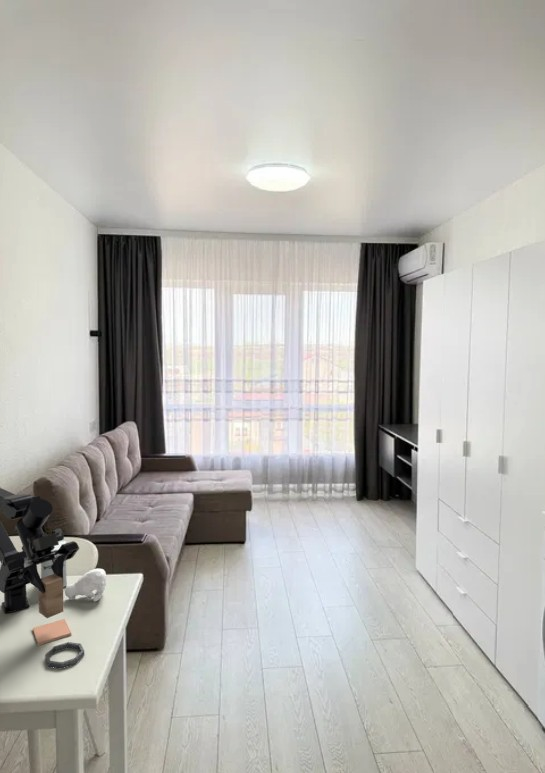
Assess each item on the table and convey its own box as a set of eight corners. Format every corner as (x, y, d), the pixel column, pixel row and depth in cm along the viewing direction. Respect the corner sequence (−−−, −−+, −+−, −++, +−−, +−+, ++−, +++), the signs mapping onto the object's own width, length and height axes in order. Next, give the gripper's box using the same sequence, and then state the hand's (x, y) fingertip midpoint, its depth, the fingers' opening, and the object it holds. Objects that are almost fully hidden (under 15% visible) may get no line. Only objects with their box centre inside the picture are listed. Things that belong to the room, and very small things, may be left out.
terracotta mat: (32, 630, 132) (32, 627, 132) (64, 620, 137) (64, 618, 137) (38, 645, 126) (38, 642, 126) (71, 634, 130) (71, 632, 130)
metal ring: (43, 654, 122) (43, 649, 122) (78, 643, 127) (78, 638, 127) (50, 672, 115) (49, 667, 115) (87, 660, 120) (87, 655, 120)
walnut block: (38, 612, 131) (38, 579, 130) (55, 605, 134) (54, 573, 133) (47, 618, 128) (46, 584, 127) (63, 611, 131) (62, 578, 130)
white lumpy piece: (103, 572, 147) (60, 580, 144) (107, 600, 148) (64, 608, 145) (106, 563, 153) (64, 570, 151) (109, 590, 154) (68, 597, 151)
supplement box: (41, 591, 153) (40, 552, 152) (41, 581, 160) (40, 543, 159) (67, 587, 156) (66, 548, 155) (66, 577, 163) (65, 539, 162)
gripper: (5, 531, 124) (26, 588, 118) (75, 512, 139) (97, 562, 133) (-8, 553, 130) (12, 608, 124) (61, 532, 144) (82, 581, 138)
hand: (53, 588), depth 129 cm, fingers closed on walnut block, 4 cm apart
